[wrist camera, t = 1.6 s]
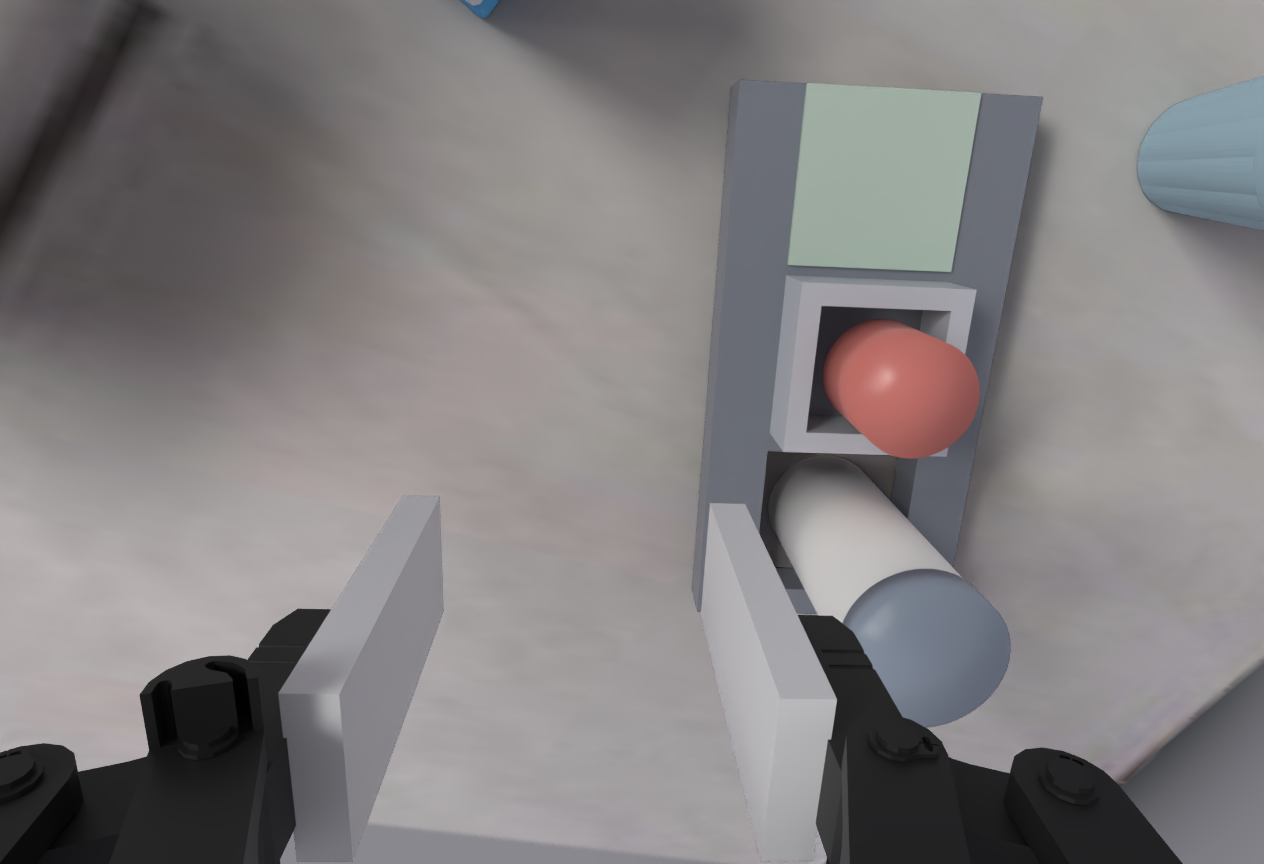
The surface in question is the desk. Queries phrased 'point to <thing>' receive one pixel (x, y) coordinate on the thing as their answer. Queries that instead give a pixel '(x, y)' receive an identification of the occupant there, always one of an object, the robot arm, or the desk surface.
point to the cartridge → (889, 590)
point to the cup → (1209, 156)
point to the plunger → (901, 387)
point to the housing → (854, 274)
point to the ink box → (481, 6)
